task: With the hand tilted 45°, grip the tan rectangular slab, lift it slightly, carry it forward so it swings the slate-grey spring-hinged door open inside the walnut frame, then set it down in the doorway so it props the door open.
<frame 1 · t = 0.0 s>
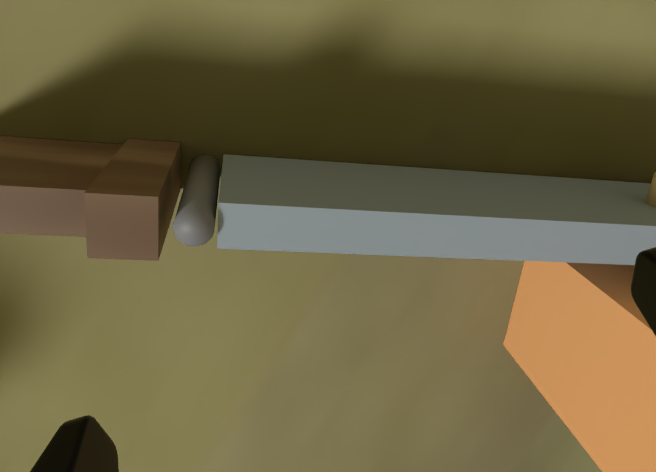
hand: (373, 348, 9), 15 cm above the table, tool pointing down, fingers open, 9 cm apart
door: (472, 194, 22), point 4 cm above the table, hinge at 0.0°
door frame: (205, 168, 23), on the table
tan rectangular slab: (558, 293, 28), on the table
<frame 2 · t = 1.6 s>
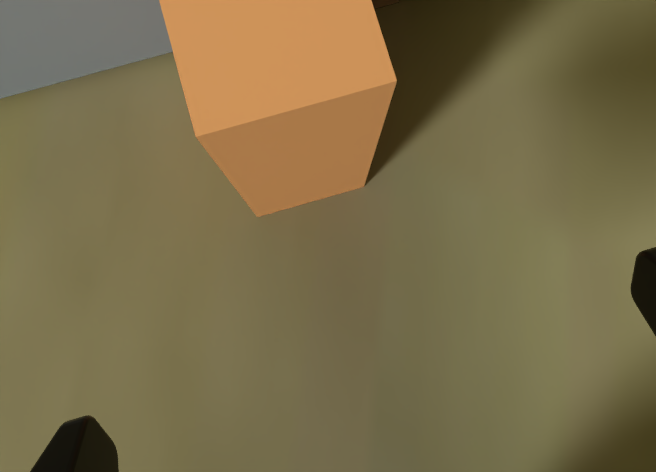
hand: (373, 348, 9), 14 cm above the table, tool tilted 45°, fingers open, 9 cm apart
door: (47, 5, 20), point 4 cm above the table, hinge at 0.0°
tan rectangular slab: (290, 133, 24), on the table
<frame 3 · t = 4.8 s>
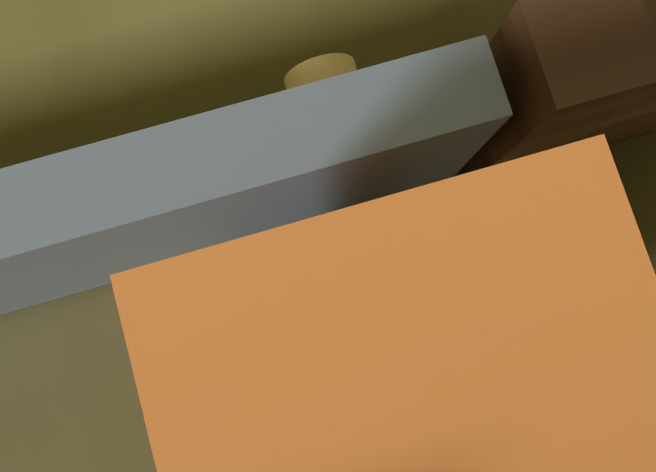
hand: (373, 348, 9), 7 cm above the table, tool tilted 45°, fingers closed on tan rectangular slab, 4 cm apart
tan rectangular slab: (367, 382, 16), on the table, touching gripper
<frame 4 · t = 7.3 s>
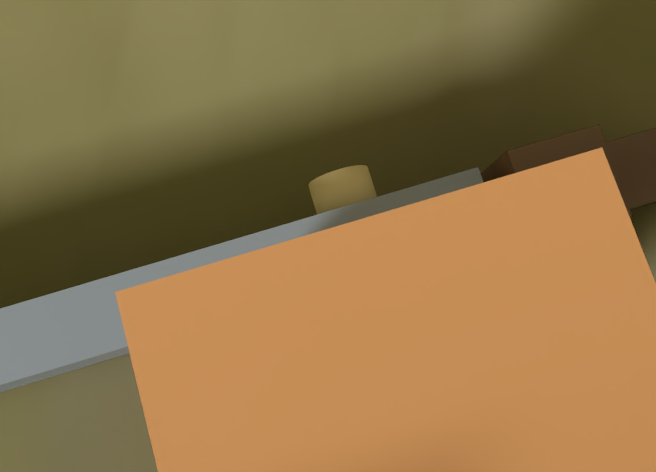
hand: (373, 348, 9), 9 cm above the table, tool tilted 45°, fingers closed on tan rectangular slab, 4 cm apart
door: (57, 317, 15), point 3 cm above the table, hinge at 0.5°, touching tan rectangular slab
tan rectangular slab: (372, 399, 15), point 2 cm above the table, touching door, gripper
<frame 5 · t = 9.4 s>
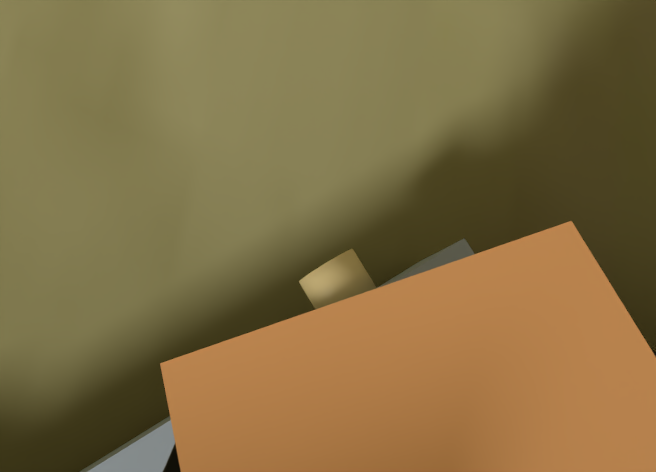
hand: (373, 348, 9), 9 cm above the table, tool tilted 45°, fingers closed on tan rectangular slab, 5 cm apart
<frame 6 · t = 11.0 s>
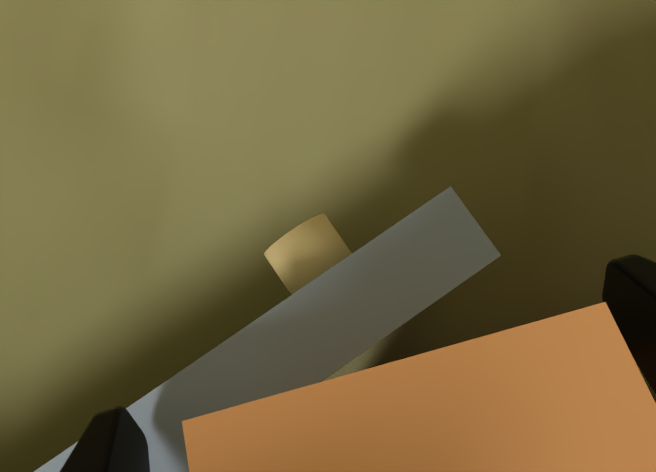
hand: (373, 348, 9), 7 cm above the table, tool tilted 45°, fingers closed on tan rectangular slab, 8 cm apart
when the fingers open (7 cm above the table, at t = 11.0 s): tan rectangular slab stays where it is, on the table.
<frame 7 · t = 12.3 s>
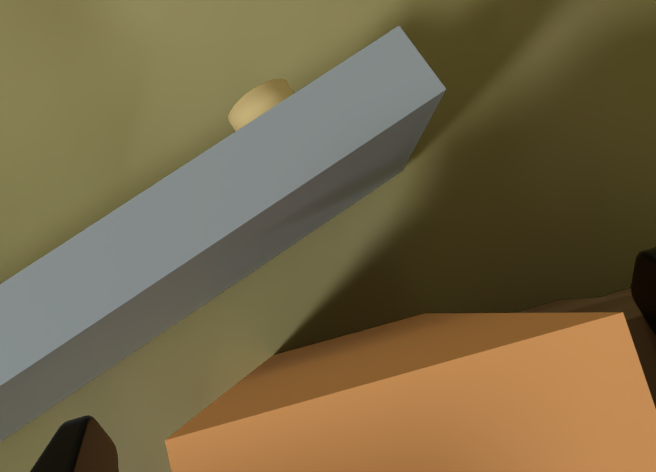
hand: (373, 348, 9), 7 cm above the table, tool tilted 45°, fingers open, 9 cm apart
tan rectangular slab: (378, 439, 16), on the table
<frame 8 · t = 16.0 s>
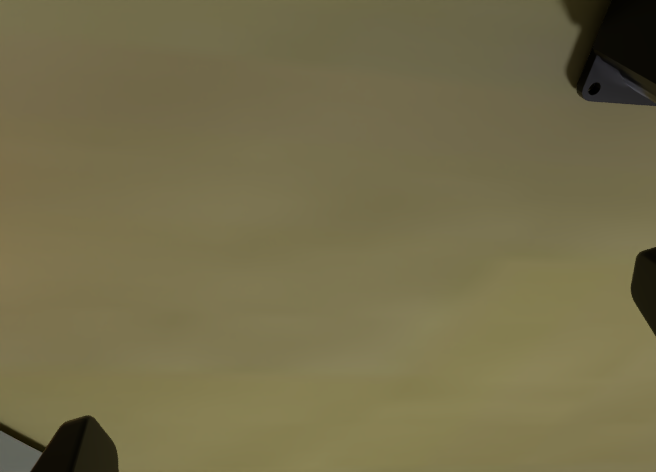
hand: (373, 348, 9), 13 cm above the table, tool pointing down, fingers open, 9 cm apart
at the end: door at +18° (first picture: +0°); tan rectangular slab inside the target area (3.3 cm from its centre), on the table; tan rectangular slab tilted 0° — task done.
